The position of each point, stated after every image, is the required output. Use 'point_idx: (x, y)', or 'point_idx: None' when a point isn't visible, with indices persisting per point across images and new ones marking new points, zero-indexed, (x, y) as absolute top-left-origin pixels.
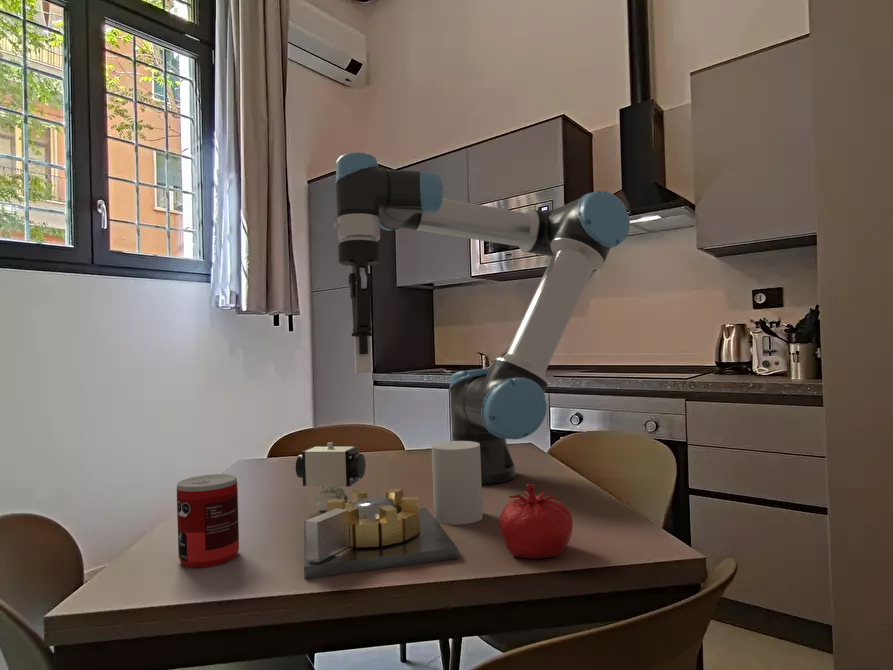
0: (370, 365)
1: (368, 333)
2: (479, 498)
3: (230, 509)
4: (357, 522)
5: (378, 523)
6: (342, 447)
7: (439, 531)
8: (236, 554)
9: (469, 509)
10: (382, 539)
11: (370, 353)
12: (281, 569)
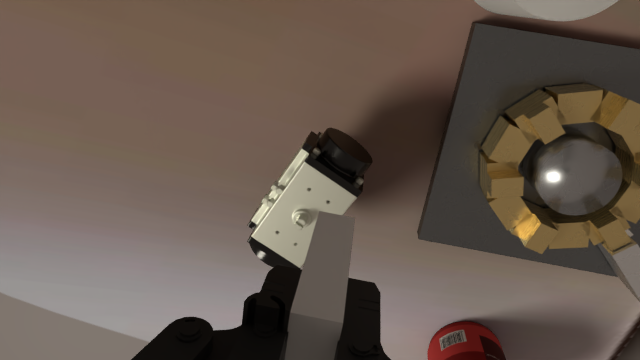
0: (352, 235)
1: (379, 355)
2: None
3: None
4: (624, 217)
5: None
6: (300, 190)
7: (635, 58)
8: (481, 325)
9: None
10: None
11: (348, 264)
12: (566, 286)
